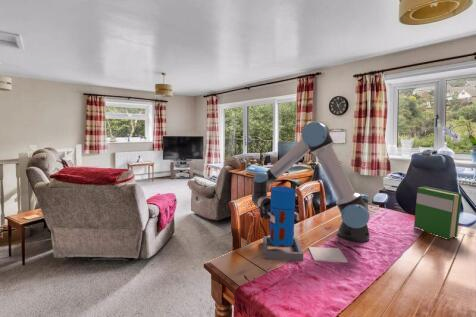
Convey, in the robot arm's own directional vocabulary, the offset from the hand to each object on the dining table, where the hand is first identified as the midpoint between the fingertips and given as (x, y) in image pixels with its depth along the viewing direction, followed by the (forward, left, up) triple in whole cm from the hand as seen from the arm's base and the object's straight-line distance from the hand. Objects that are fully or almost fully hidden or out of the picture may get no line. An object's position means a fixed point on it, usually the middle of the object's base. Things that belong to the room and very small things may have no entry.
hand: (286, 218), depth 113 cm
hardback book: (-86, -34, -17) cm, 94 cm away
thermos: (+1, -4, -13) cm, 13 cm away
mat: (-19, -2, -17) cm, 25 cm away
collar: (+1, -4, -17) cm, 17 cm away
